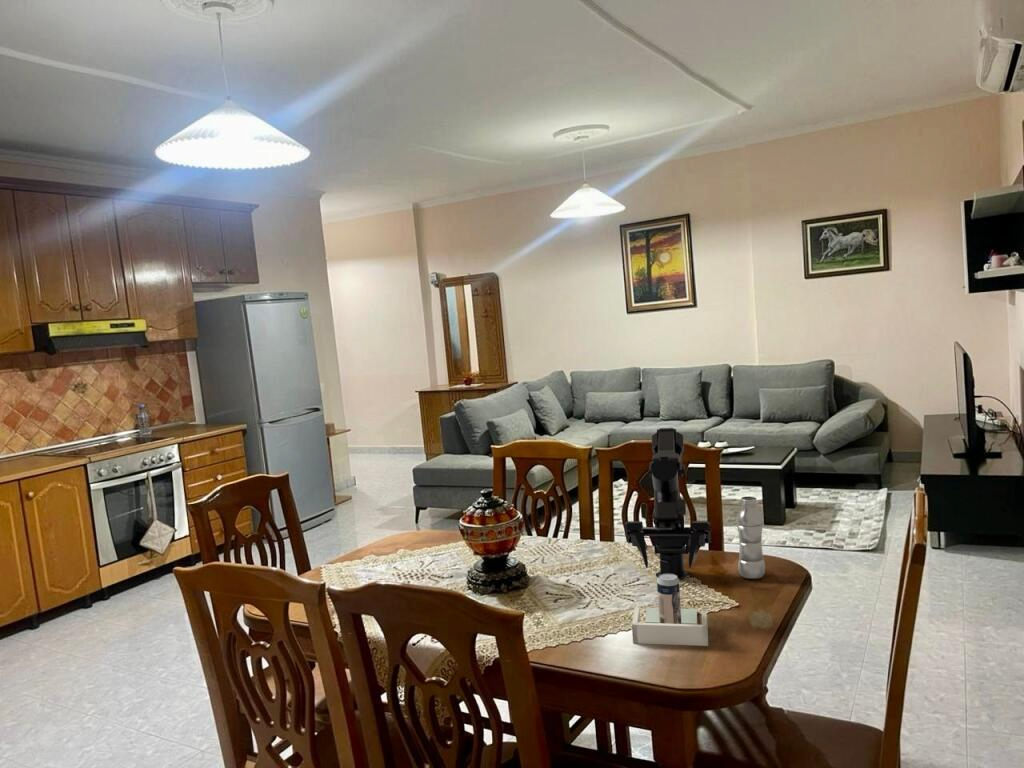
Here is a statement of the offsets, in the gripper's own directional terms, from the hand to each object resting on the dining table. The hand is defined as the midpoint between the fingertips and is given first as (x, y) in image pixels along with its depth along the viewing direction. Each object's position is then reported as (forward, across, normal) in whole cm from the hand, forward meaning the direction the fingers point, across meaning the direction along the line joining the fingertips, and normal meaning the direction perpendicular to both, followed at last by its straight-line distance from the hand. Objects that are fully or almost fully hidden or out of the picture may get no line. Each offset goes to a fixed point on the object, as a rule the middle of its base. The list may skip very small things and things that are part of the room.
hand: (668, 567), depth 159 cm
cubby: (+14, 0, +3) cm, 14 cm away
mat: (+8, 0, +9) cm, 12 cm away
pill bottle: (+13, 0, +5) cm, 13 cm away
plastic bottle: (-11, +19, +28) cm, 35 cm away
